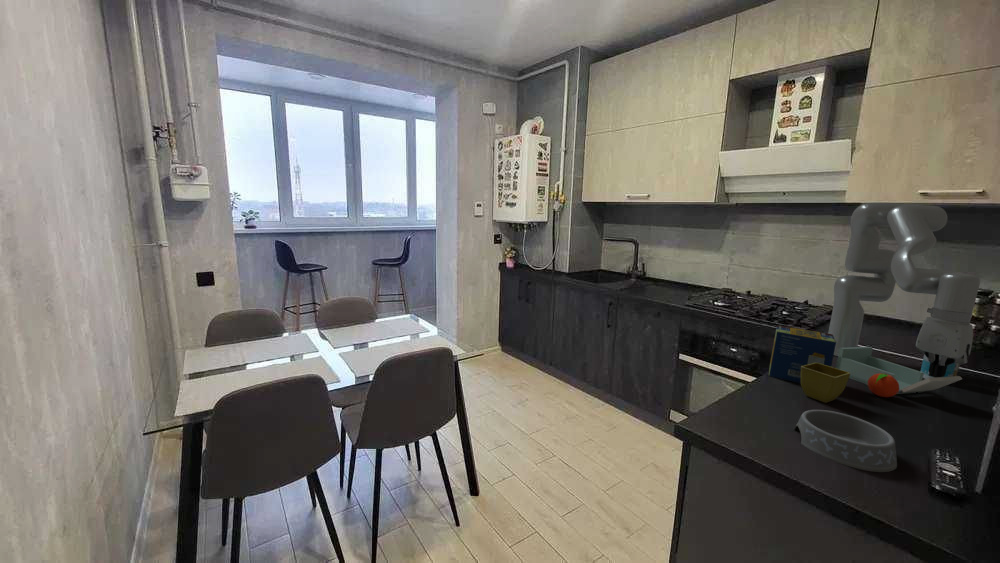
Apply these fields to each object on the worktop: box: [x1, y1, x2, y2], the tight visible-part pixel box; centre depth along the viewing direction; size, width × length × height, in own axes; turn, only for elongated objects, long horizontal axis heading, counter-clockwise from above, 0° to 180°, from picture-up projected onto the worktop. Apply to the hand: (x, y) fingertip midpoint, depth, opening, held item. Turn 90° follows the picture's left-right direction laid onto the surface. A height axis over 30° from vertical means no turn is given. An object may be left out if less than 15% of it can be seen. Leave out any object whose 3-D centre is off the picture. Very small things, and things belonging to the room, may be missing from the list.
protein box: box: [768, 324, 836, 384], centre depth 131 cm, size 10×15×16 cm
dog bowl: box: [794, 409, 898, 473], centre depth 91 cm, size 17×18×5 cm
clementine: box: [867, 373, 899, 398], centre depth 120 cm, size 8×7×7 cm
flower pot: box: [800, 363, 850, 404], centre depth 116 cm, size 9×9×9 cm
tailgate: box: [898, 375, 963, 394], centre depth 119 cm, size 1×13×9 cm
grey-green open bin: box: [835, 346, 925, 395], centre depth 131 cm, size 17×13×9 cm
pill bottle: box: [920, 354, 957, 380], centre depth 136 cm, size 8×7×14 cm
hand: (935, 376), depth 118 cm, fingers closed
